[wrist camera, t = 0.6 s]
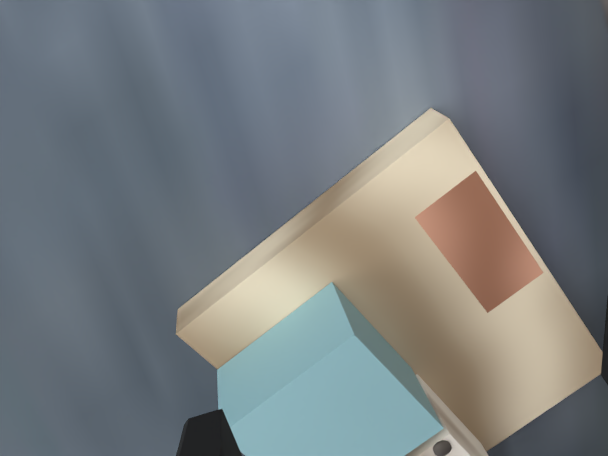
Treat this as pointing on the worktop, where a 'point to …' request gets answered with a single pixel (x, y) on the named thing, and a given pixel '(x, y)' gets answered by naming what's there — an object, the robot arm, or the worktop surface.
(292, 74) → the worktop surface
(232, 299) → the board
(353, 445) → the stub
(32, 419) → the worktop surface
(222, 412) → the robot arm
